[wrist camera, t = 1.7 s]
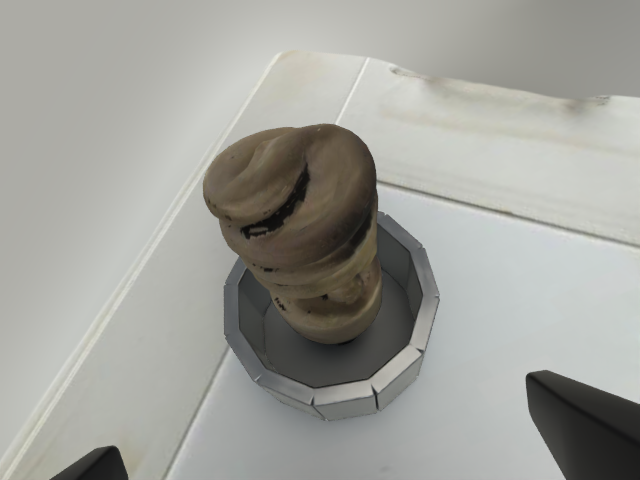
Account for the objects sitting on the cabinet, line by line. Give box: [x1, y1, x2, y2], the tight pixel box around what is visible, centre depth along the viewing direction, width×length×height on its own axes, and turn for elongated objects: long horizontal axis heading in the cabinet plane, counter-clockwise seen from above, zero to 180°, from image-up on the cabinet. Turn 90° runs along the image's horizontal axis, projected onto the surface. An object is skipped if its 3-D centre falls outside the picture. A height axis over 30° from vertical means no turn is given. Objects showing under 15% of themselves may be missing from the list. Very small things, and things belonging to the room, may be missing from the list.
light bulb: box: [203, 124, 383, 345], centre depth 18 cm, size 6×6×15 cm
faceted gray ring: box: [224, 211, 440, 421], centre depth 22 cm, size 11×11×5 cm
